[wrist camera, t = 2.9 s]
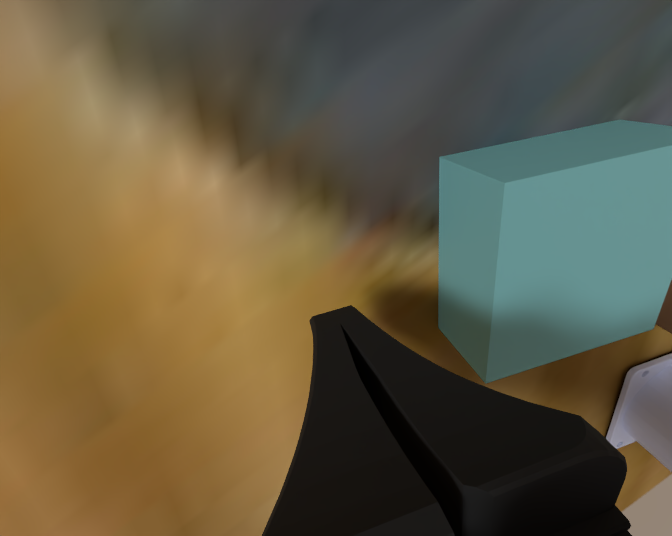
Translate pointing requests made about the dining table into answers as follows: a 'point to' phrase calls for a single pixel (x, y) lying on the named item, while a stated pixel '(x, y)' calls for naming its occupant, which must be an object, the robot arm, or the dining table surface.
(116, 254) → the dining table surface
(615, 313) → the teal block
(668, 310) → the walnut board
